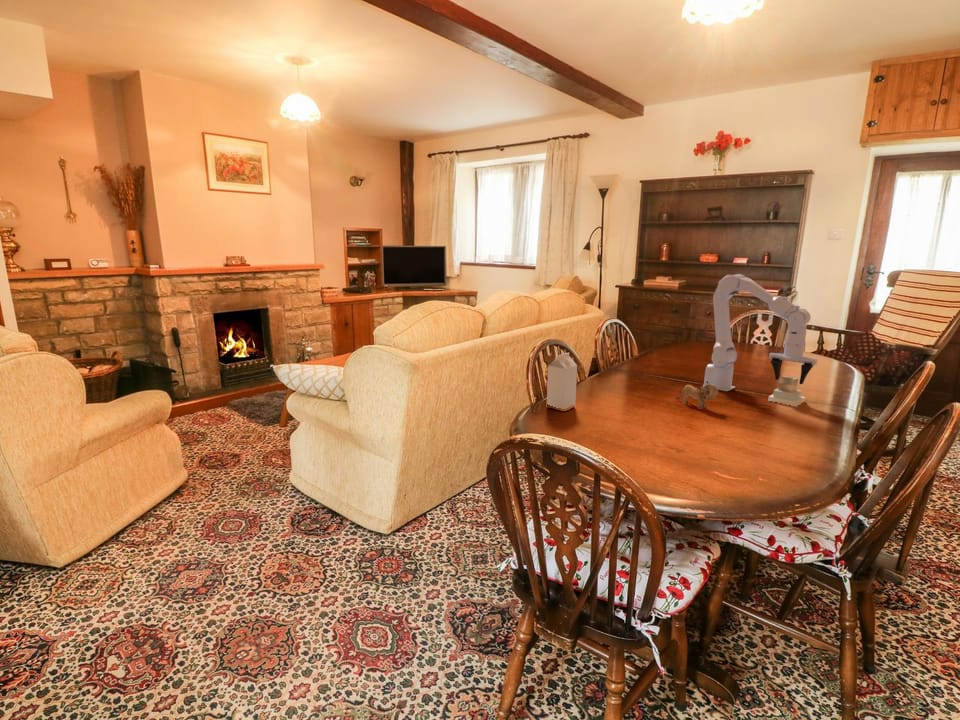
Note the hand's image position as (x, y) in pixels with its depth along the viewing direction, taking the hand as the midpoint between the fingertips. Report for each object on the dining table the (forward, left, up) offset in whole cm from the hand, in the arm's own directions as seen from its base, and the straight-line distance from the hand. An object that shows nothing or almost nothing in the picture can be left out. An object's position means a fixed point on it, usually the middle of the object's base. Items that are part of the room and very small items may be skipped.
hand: (789, 381), depth 176 cm
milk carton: (-49, -67, -8) cm, 83 cm away
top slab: (0, 0, -6) cm, 6 cm away
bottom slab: (0, 0, -8) cm, 8 cm away
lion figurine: (-19, -29, -8) cm, 36 cm away
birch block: (0, 0, -3) cm, 3 cm away
